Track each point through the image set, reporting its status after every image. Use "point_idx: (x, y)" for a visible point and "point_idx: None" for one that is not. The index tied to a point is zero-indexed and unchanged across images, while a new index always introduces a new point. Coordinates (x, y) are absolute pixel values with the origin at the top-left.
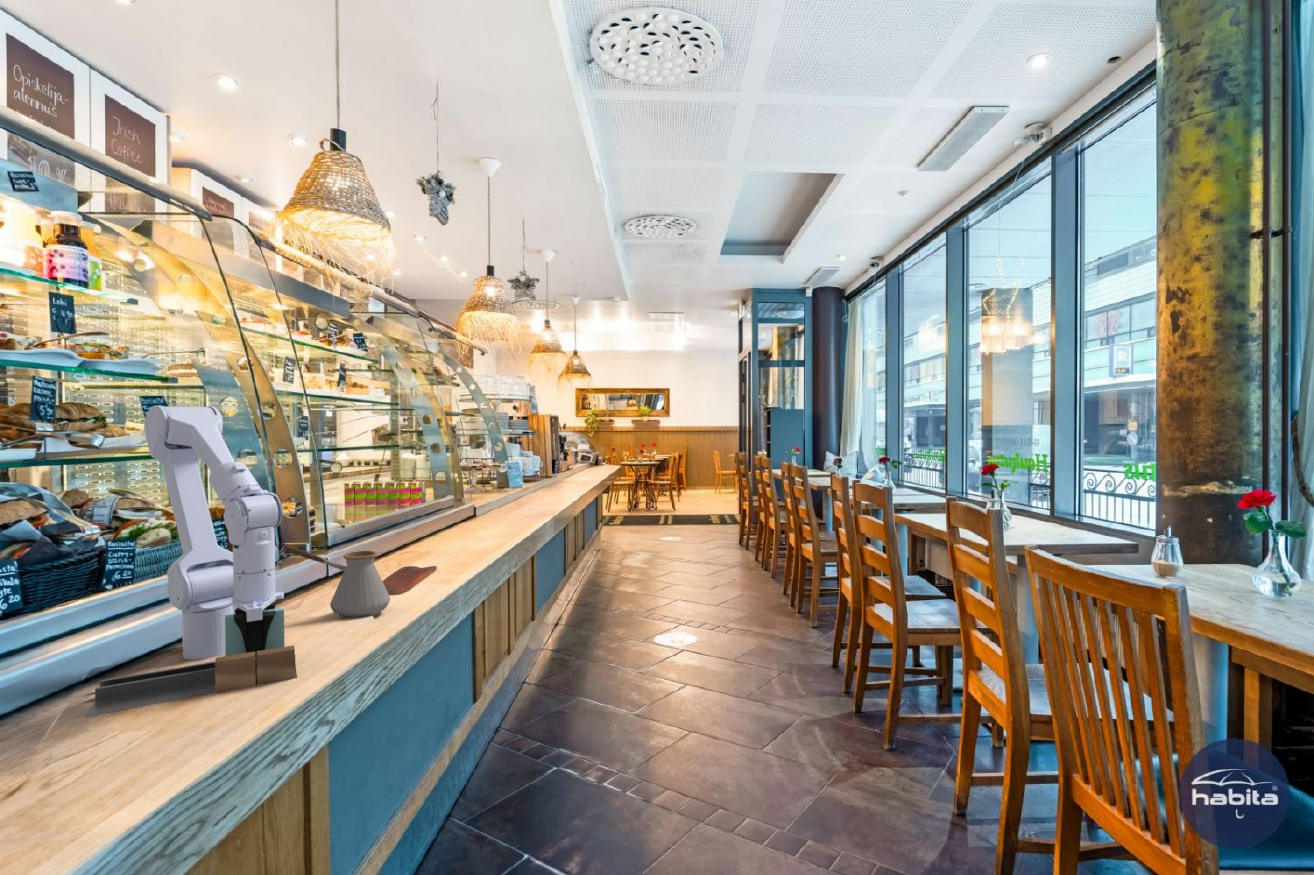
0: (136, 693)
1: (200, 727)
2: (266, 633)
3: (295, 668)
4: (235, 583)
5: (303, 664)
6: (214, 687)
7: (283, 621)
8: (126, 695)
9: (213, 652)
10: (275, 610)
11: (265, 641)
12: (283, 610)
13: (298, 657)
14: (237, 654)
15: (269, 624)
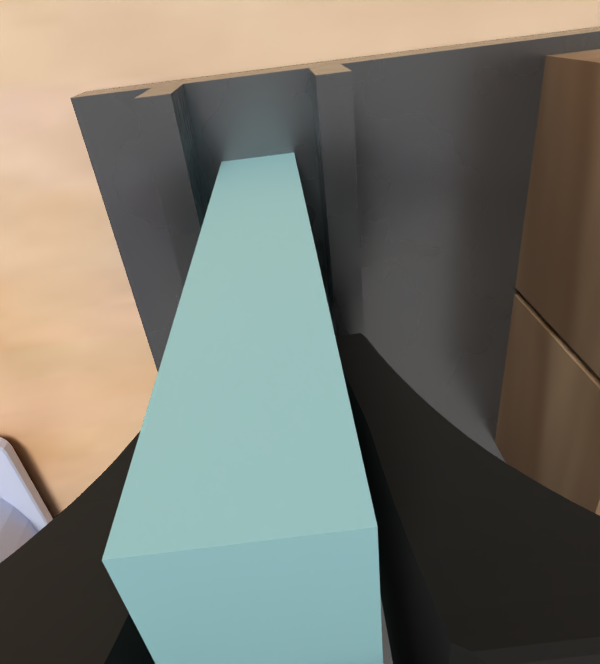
0: (384, 630)
1: None
2: (464, 439)
3: (437, 56)
4: None
5: (212, 2)
6: (489, 448)
7: (337, 347)
8: (388, 645)
9: (11, 547)
10: (322, 647)
11: (408, 386)
12: (365, 522)
13: (23, 60)
14: (596, 504)
15: (574, 510)
